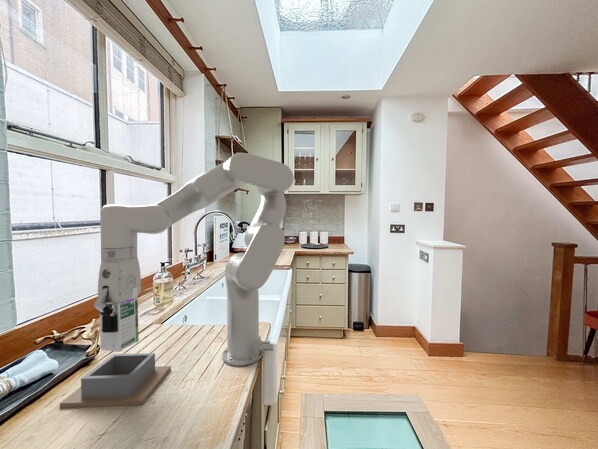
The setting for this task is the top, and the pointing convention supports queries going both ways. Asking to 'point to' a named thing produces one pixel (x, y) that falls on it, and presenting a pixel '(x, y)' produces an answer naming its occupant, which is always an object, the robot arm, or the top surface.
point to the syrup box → (122, 326)
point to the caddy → (118, 382)
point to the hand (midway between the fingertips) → (120, 325)
